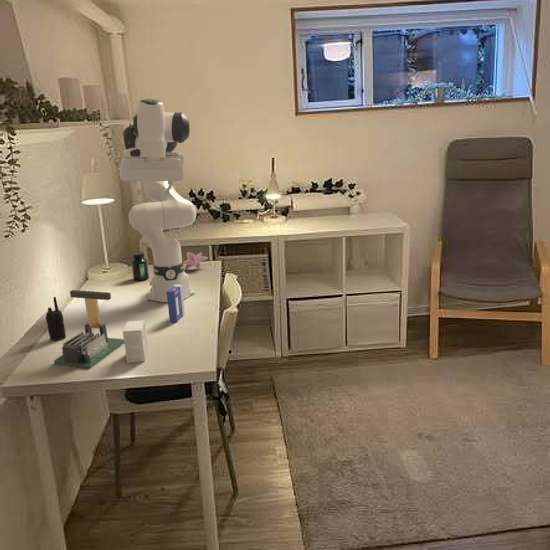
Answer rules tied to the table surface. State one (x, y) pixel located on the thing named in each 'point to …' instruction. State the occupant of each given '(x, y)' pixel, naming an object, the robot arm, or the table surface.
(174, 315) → the walkman
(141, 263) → the supplement bottle
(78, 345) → the board
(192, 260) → the lily
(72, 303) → the table surface
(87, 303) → the lever
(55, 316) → the two-way radio
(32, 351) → the table surface
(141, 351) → the small box
